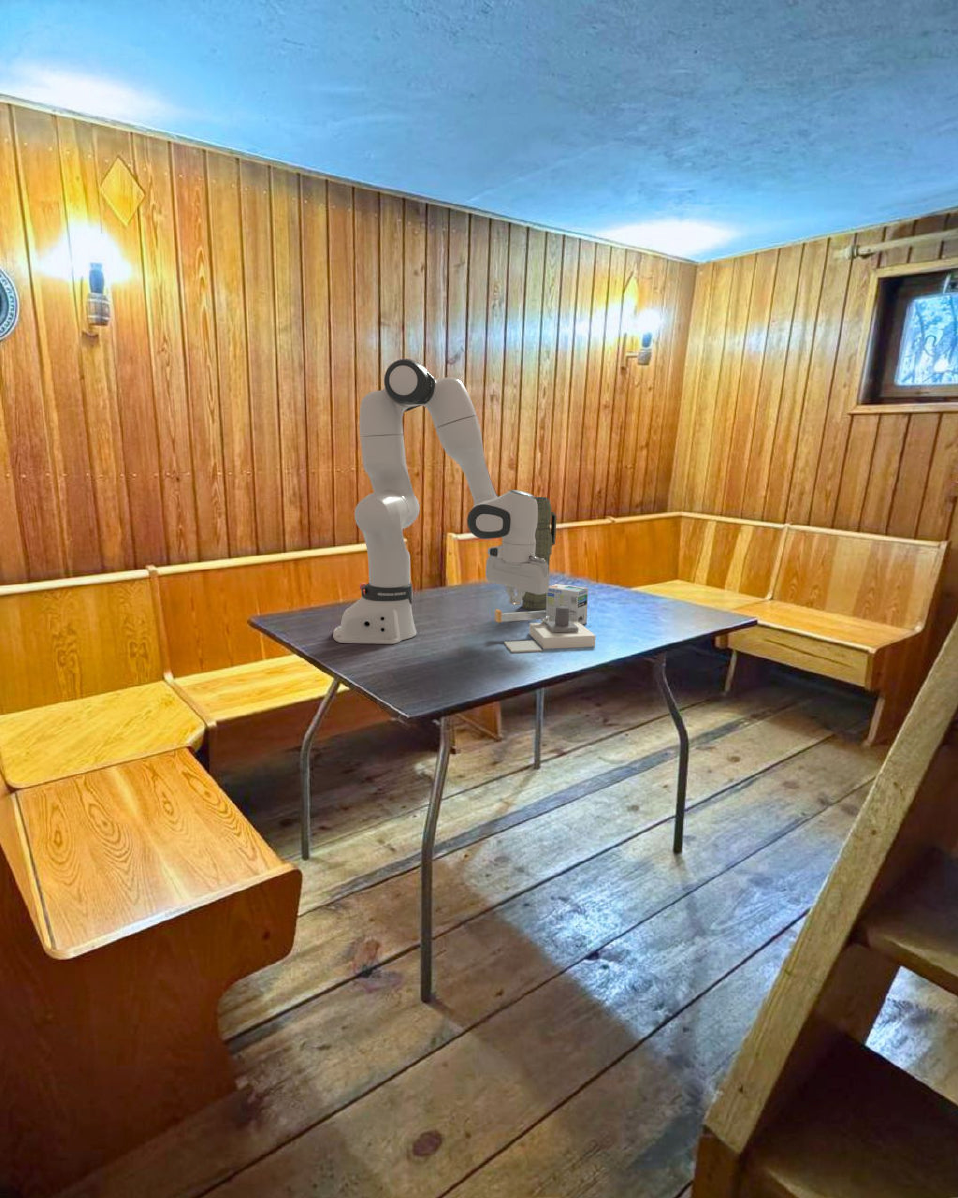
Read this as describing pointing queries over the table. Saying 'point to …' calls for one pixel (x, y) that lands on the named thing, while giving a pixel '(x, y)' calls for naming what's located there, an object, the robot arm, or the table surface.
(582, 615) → the light bulb box
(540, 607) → the thermos
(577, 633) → the socket
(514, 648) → the mat
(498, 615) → the ball-tipped lever rod
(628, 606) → the table surface
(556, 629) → the plug
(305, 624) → the table surface
